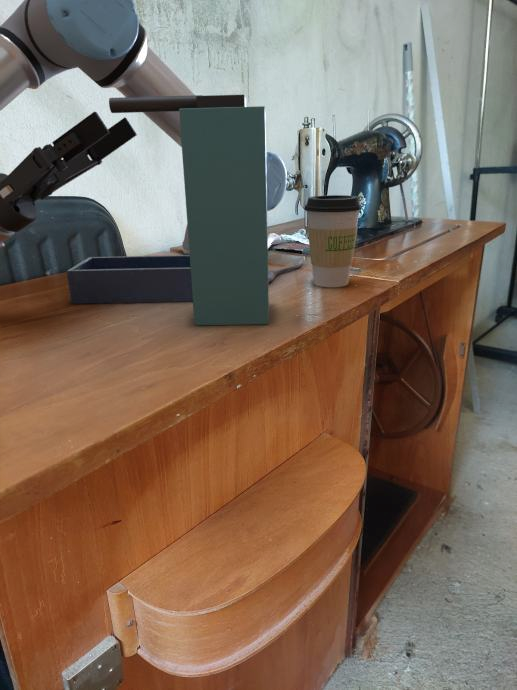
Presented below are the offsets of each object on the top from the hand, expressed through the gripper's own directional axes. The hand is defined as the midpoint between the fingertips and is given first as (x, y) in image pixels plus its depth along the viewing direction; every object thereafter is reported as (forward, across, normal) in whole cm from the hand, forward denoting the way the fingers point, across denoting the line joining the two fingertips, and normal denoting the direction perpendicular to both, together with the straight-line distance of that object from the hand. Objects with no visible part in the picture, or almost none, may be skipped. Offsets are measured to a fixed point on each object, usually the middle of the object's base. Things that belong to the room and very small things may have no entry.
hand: (118, 124), depth 68 cm
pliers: (+5, -27, -34) cm, 43 cm away
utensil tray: (-15, -14, -22) cm, 30 cm away
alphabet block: (-18, -31, -21) cm, 41 cm away
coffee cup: (+13, -18, -39) cm, 45 cm away
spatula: (+3, -47, -33) cm, 58 cm away
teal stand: (-1, 0, -30) cm, 30 cm away
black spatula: (+8, 0, -3) cm, 8 cm away
